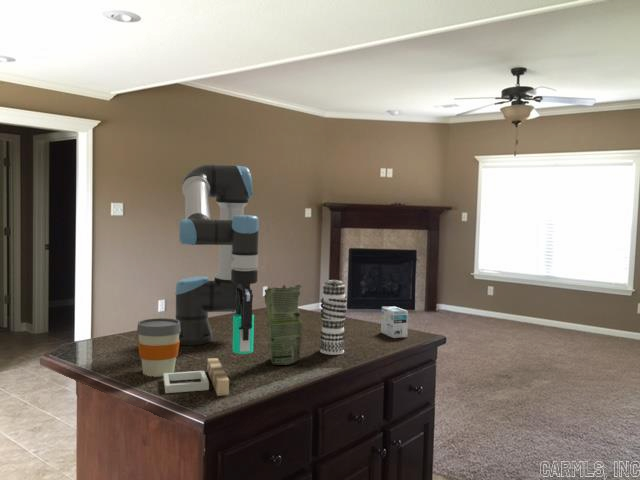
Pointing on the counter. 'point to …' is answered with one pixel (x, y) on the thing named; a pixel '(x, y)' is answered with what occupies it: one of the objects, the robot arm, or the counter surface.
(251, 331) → the candle
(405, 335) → the light bulb box
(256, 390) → the counter surface
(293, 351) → the pouch
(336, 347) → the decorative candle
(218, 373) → the edge strip
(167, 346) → the reusable coffee cup
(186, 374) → the frame
